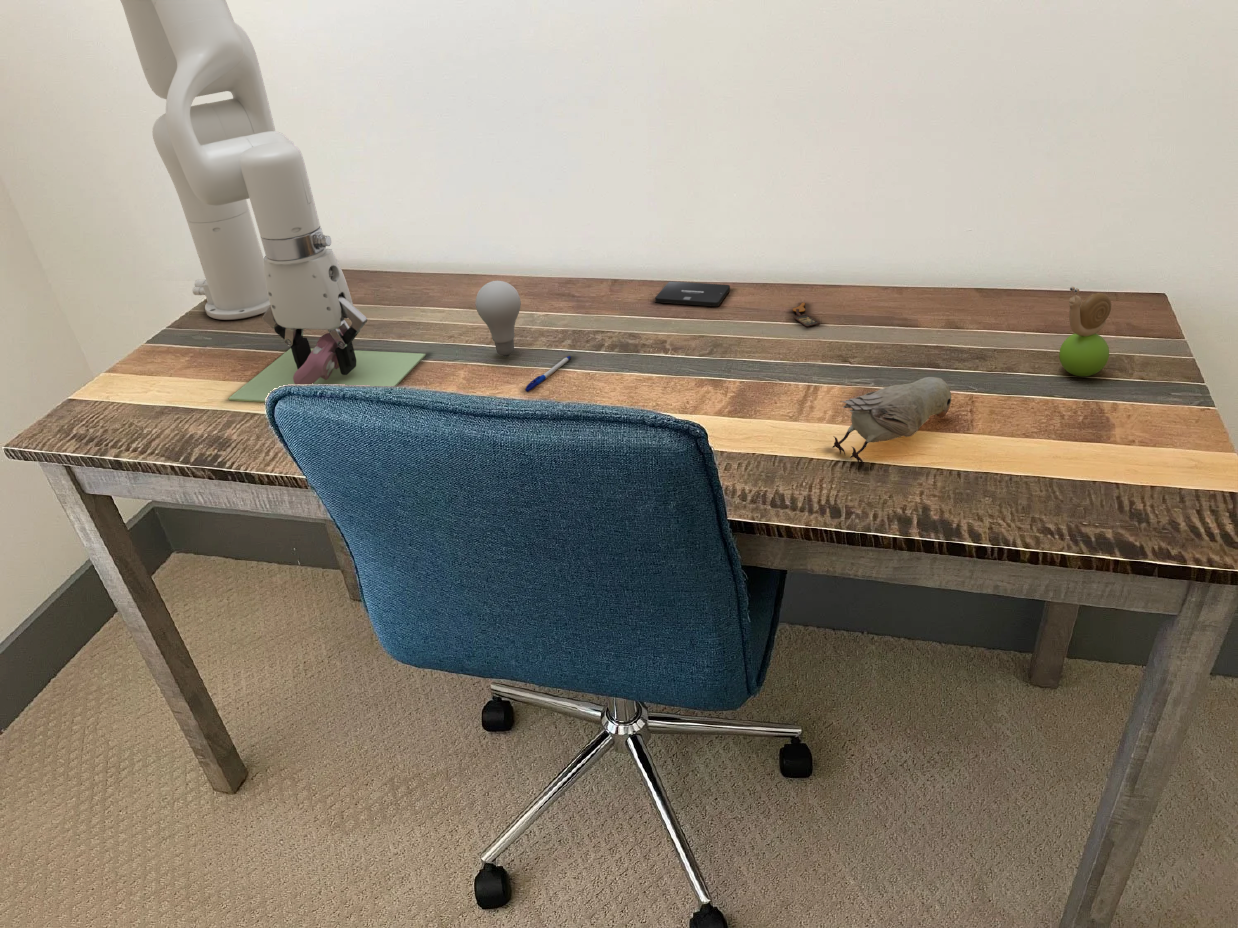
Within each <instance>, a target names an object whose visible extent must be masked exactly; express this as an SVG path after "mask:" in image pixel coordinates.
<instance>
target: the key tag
mask: <svg viewBox="0 0 1238 928" xmlns="http://www.w3.org/2000/svg"><path fill="white" fill-rule="evenodd" d="M805 306H806V302H805V301H804V302H801V303H800V305H799V306H796V307H793V308H792V312H794V313H796V314H795V315H796V316H794V317H793V320H796V321H797V322H798V323H799V324H801V325H803V326H804V327H806V328H810V327H813V326H816V325H817V326H818V325H820V324H821V322H819V321H818V320H816V319H815V318H814V317H812V316H810V315H809V314H807V313H805V314H801V313H804V312H806V308H805Z"/></svg>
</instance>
